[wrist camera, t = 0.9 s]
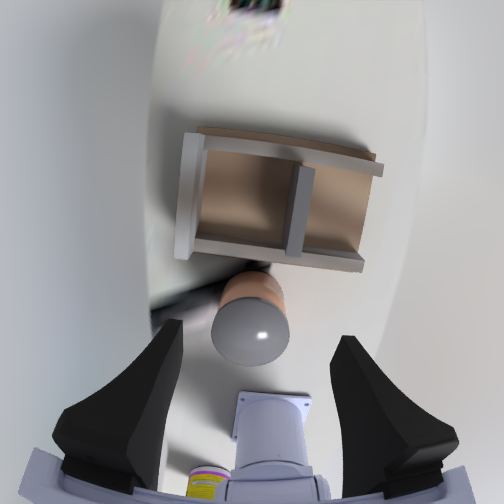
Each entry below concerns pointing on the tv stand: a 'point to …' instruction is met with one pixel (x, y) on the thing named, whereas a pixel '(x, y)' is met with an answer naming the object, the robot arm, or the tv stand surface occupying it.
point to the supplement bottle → (205, 481)
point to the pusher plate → (297, 209)
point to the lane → (270, 198)
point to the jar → (251, 320)
